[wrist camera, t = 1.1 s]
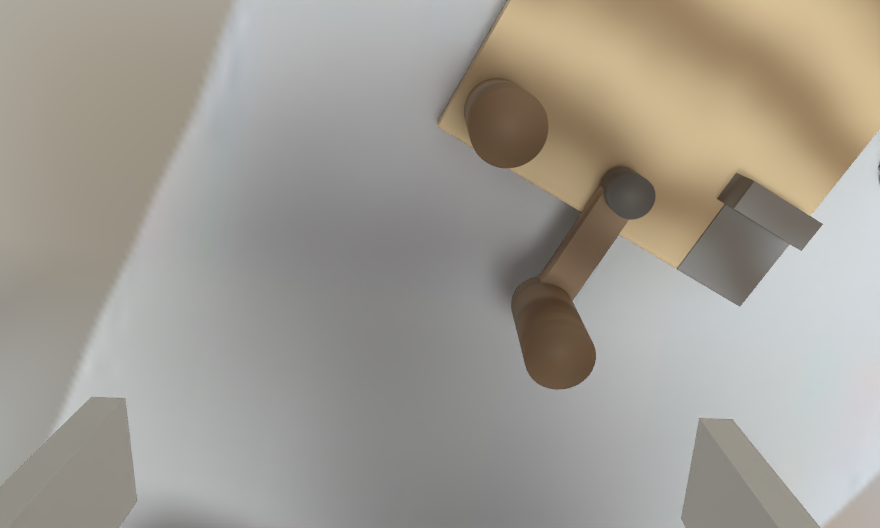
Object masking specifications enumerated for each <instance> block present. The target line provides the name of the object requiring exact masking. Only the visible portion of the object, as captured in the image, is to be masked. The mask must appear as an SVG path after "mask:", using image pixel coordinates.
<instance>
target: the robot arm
mask: <svg viewBox="0 0 880 528" xmlns="http://www.w3.org/2000/svg"><path fill="white" fill-rule="evenodd" d="M136 502H137V495H136V487H135V478H134V469H133V461H132V452H131V443H130V435H129V426H128V417H127V408H126V400H125V398H106V397H91V398H90V399H89V400H88V401H87V402H86V403H85V404H84V405H83V406H82V407H81V408H80V409H79V410H78V411H77V412H76V413H75V414H74V415H73V416H71V417H70V418H69V419H68V420H67V421H66V422H65V423H64V424H63V425H62V426H61V427H60V428H59V429H58V430H57V431H56V432H55V433H54V434H53V435H52V436H51V437H50V438H49V439H48V440H47V441H46V442H45V443H44V444H43V445H42V446H41V447H40V448H39V449H38V450H37V451H36V452H35V453H34V454H33V455H32V456H31V457H30V458H29V459H28V460H27V461H26V462H25V463H24V464H23V465H22V466H21V467H20V468H19V469H18V470H17V471H16V472H15V473H14V474H13V475H12V476H11V477H10V478H8V479H7V480H6V481H5V482H4V483H3V485H1V486H0V528H119V527H120V525H121V524H122V522H123V521H124V519H125V518H126V516H127V515H128V514H129V512H130V511H131V509H132V508H133V506H134V505H135V503H136ZM681 519H682V521H683V523H684V525H685V527H686V528H820V527H819V525H818V524H817V523H816V522H815V520H814V519H813V518H812V517H811V515H810V514H809V513H808V512H807V511H806V509H805V508H804V507H803V506H802V504H801V503H800V502H799V501H798V500H797V498H796V497H795V496H794V495H793V493H792V492H791V491H790V490H789V488H788V487H787V486H786V485H785V484H784V482H783V481H782V480H781V479H780V477H779V476H778V475H777V474H776V472H775V471H774V470H773V469H772V468H771V466H770V465H769V464H768V463H767V461H766V460H765V459H764V458H763V456H762V455H761V454H760V453H759V452H758V450H757V449H756V448H755V447H754V445H753V444H752V443H751V442H750V441H749V439H748V438H747V437H746V436H745V434H744V433H743V432H742V431H741V429H740V428H739V427H738V426H737V425H736V423H735V422H734V421H733V420H732V419H707V418H699V423H698V428H697V434H696V439H695V445H694V450H693V456H692V461H691V467H690V472H689V478H688V483H687V489H686V494H685V500H684V505H683V511H682V516H681Z"/></svg>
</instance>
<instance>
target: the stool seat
mask: <svg viewBox="0 0 880 528" xmlns="http://www.w3.org/2000/svg"><path fill="white" fill-rule="evenodd" d="M438 127H439V128H440V129H442V130H444V131H445V132H447V133H449V134H450V135H452V136H454V137H456V138H457V139H459V140H461V141H462V142H464V143H466V144H467V145H469V146H471V147H472V148H474V150H475V151H476V153H477V154H478V155H479V156H480V157H481V158H482V159H483V160H484V161H486V162H487V163H489V164H491V165H493V166H496V167H500V168H508V169H509V170H511V171H513V172H514V173H516V174H518V175H520V176H521V177H523V178H525V179H526V180H528V181H530V182H531V183H533V184H535V185H536V186H538V187H540V188H541V189H543V190H545V191H546V192H548V193H550V194H552V195H553V196H555V197H557V198H558V199H560V200H562V201H563V202H565V203H567V204H568V205H570V206H572V207H573V208H575V209H577V210H578V211H580V212H583V210H584V209H585V207H586V206H587V204H588V203H589V201H590V200H591V199H592V197H593V196H594V194H595V193H596V191H597V190H598V188H599V187H600V184H601V181H602V179H603V177H604V176H605V175H606V174H607V173H608V172H609V171H610V170H612V169H614V168H618V167H627V168H630V169H632V170H634V171H635V172H637V173H638V174H640V175H641V176H643V177H644V178H646V179H647V180H648V181H649V182H650V183H651V184H652V185H653V187H654V189H655V195H656V197H655V202H654V205H653V207H652V209H651V210H650V211H649V212H648V213H647V214H646V215H645V216H643V217H641V218H638V219H634V220H629V221H628V222H627V224H626V225H625V226H624V228H623V229H622V231H621V232H620V234H619V235H621V236H622V237H624V238H626V239H627V240H629V241H631V242H632V243H634V244H636V245H637V246H639V247H641V248H642V249H644V250H646V251H648V252H649V253H651V254H653V255H654V256H656V257H658V258H659V259H661V260H663V261H664V262H666V263H668V264H669V265H671V266H673V267H674V268H676V269H677V270H679V271H681V272H682V273H684V274H686V275H687V276H689V277H691V278H693V279H694V280H696V281H698V282H699V283H701V284H703V285H704V286H706V287H708V288H709V289H711V290H713V291H714V292H716V293H718V294H719V295H721V296H723V297H725V298H726V299H728V300H730V301H731V302H733V303H735V304H736V305H738V306H741V305H742V303H743V302H744V301H745V300H746V298H747V297H748V296H749V295H750V293H751V292H752V291H753V290H754V288H755V287H756V286H757V285H758V283H759V282H760V281H761V280H762V278H763V277H764V276H765V274H766V273H767V272H768V271H769V269H770V268H771V267H772V266H773V264H774V263H775V262H776V261H777V259H778V258H779V257H780V256H781V254H782V253H783V252H784V251H785V249H786V248H787V247H788V246H789V244H791V245H792V246H794V247H796V248H798V249H799V250H801V251H802V250H803V248H804V247H805V246H806V245H807V243H808V242H809V241H810V240H811V238H812V237H813V236H814V235H815V233H816V232H817V231H818V230H819V228H820V227H821V226H822V225H823V224H822V223H820V222H819V221H817V220H815V219H814V218H812V217H811V215H812V213H813V212H814V211H815V210H816V208H817V207H818V206H819V205H820V203H821V202H822V201H823V200H824V198H825V197H826V196H827V195H828V193H829V192H830V191H831V189H832V188H833V187H834V186H835V184H836V183H837V182H838V181H839V179H840V178H841V177H842V176H843V174H844V173H845V172H846V171H847V169H848V168H849V167H850V166H851V164H852V163H853V162H854V160H855V159H856V158H857V157H858V155H859V154H860V153H861V152H862V150H863V149H864V148H865V147H866V145H867V144H868V143H869V142H870V140H871V139H872V138H873V137H874V135H875V134H876V133H877V131H878V130H879V129H880V0H507V2H506V4H505V5H504V7H503V9H502V11H501V12H500V14H499V16H498V18H497V19H496V21H495V23H494V25H493V26H492V28H491V30H490V32H489V33H488V35H487V37H486V38H485V40H484V42H483V44H482V45H481V47H480V49H479V51H478V52H477V54H476V56H475V58H474V59H473V61H472V63H471V65H470V66H469V68H468V70H467V72H466V73H465V75H464V77H463V78H462V80H461V82H460V84H459V85H458V87H457V89H456V91H455V92H454V94H453V96H452V98H451V99H450V101H449V103H448V105H447V106H446V108H445V110H444V112H443V113H442V115H441V117H440V118H439V120H438Z"/></svg>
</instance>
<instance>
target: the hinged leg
mask: <svg viewBox="0 0 880 528" xmlns="http://www.w3.org/2000/svg"><path fill="white" fill-rule="evenodd" d="M655 197H656V195H655V189H654V187H653V185H652V184H651V183H650V182H649V181H648V180H647V179H646V178H644V177H643V176H641V175H640V174H638V173H637V172H635V171H634V170H632V169H630V168H627V167H618V168H614V169H612V170H610V171H609V172H608V173H607V174H606V175H605V176H604V177H603V179H602V181H601V184H600V187H599V188H598V190H597V191H596V193H595V194H594V196H593V197H592V199H591V200H590V201H589V203H588V204H587V206H586V207H585V209H584V210H583V212H582V213H581V215H580V216H579V218H578V219H577V221H576V222H575V224H574V225H573V227H572V228H571V230H570V231H569V233H568V234H567V236H566V237H565V239H564V240H563V241H562V243H561V244H560V246H559V247H558V249H557V250H556V252H555V253H554V255H553V256H552V258H551V259H550V261H549V262H548V264H547V265H546V267H545V268H544V270H543V271H542V273H541V274H540V276H539V277H534V278H531V279H529V280H527V281H525V282H523V283H522V284H521V285H520V286H519V287H518V288H517V289H516V291H515V293H514V295H513V297H512V301H511V309H512V313H513V317H514V321H515V326H516V330H517V334H518V338H519V342H520V346H521V350H522V354H523V358H524V362H525V366H526V369H527V371H528V373H529V375H530V376H531V378H532V379H533V380H534V381H536V382H537V383H538V384H540V385H542V386H544V387H546V388H550V389H567V388H571V387H573V386H576V385H578V384H579V383H581V382H582V381H584V380H585V379H586V378H587V377H588V375H589V374H590V373H591V371H592V369H593V367H594V364H595V360H596V352H595V347H594V345H593V342H592V340H591V338H590V336H589V334H588V332H587V330H586V328H585V326H584V324H583V322H582V320H581V318H580V316H579V314H578V312H577V310H576V308H575V306H574V304H573V302H572V301H573V299H574V298H575V296H576V295H577V293H578V292H579V291H580V289H581V288H582V286H583V285H584V283H585V282H586V281H587V279H588V278H589V276H590V275H591V273H592V272H593V271H594V269H595V268H596V266H597V265H598V264H599V262H600V261H601V259H602V258H603V256H604V255H605V254H606V252H607V251H608V249H609V248H610V246H611V245H612V244H613V242H614V241H615V239H616V238H617V236H618V235H619V234H620V232H621V231H622V229H623V228H624V226H625V225H626V224H627V222H628V221H629V220H634V219H638V218H641V217H643V216H645V215H646V214H647V213H648V212H649V211H650V210H651V209H652V207H653V205H654V202H655Z"/></svg>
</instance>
